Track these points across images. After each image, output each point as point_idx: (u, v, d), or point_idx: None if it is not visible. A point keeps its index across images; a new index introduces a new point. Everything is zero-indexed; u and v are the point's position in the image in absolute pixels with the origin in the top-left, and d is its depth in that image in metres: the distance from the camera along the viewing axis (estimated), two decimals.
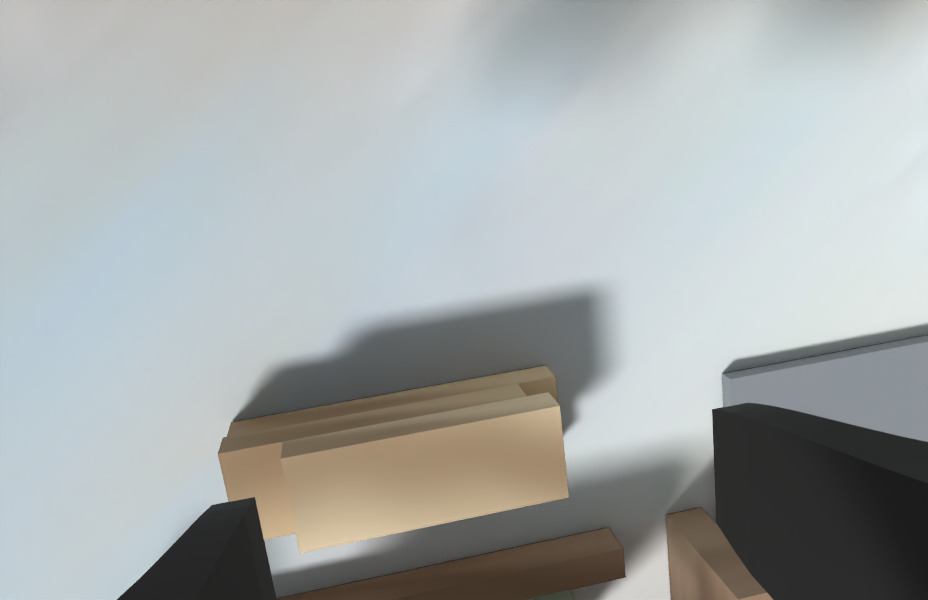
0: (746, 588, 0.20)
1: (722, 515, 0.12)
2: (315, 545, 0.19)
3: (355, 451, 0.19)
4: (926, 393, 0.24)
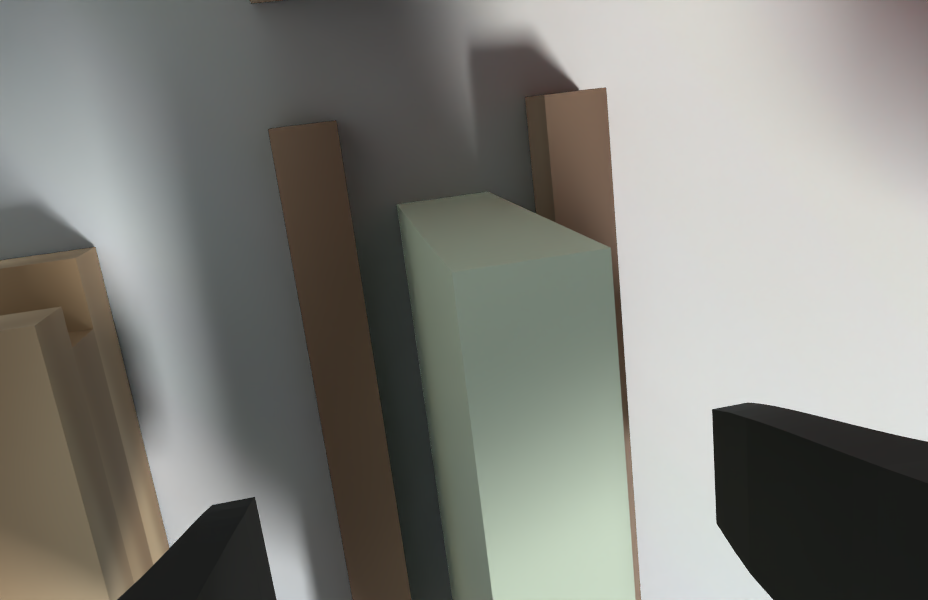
0: None
1: (723, 515, 0.12)
2: None
3: None
4: None
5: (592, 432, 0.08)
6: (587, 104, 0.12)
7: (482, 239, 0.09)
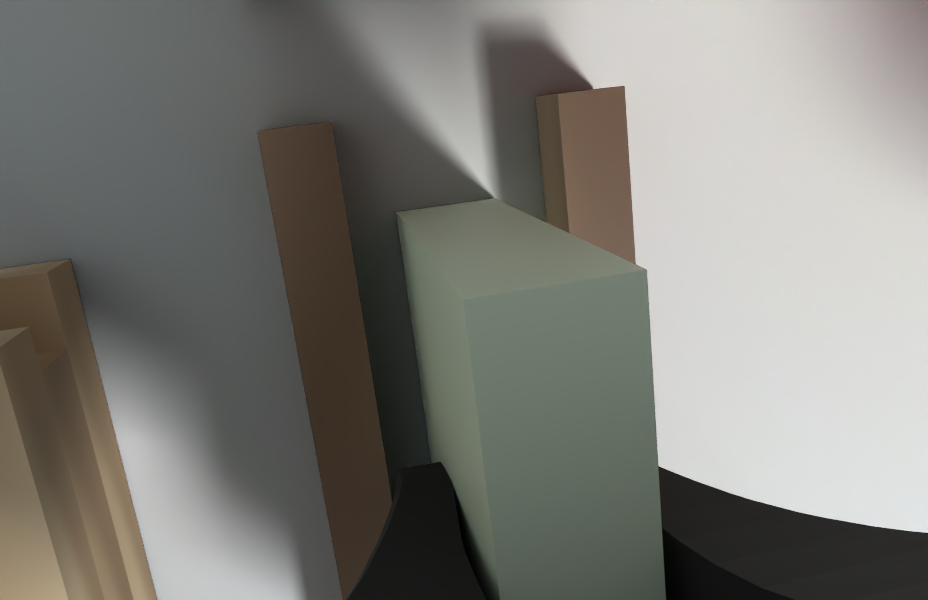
0: None
1: None
2: None
3: None
4: None
5: (623, 479, 0.07)
6: (604, 104, 0.11)
7: (495, 256, 0.08)
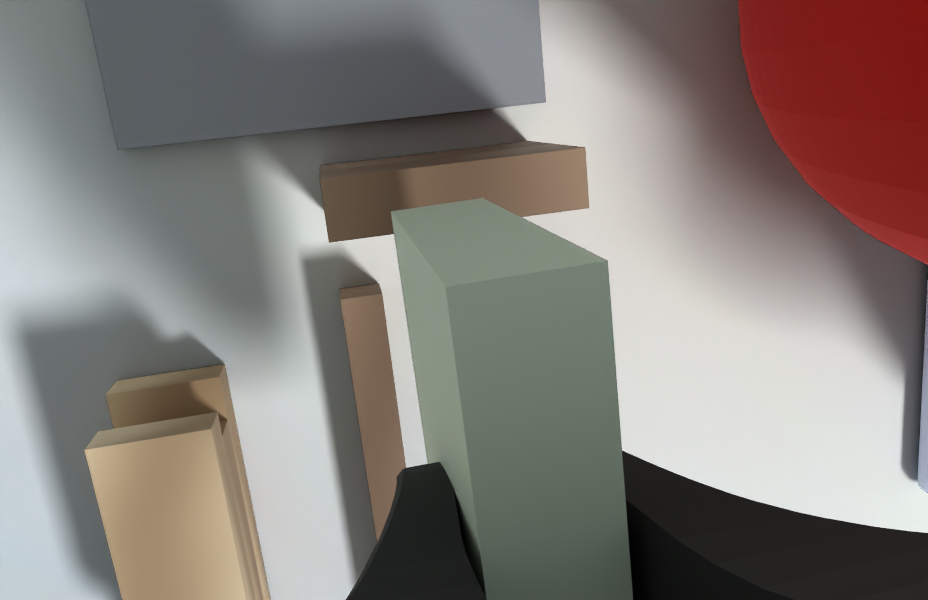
0: None
1: None
2: None
3: None
4: None
5: (589, 448, 0.08)
6: None
7: (477, 250, 0.09)
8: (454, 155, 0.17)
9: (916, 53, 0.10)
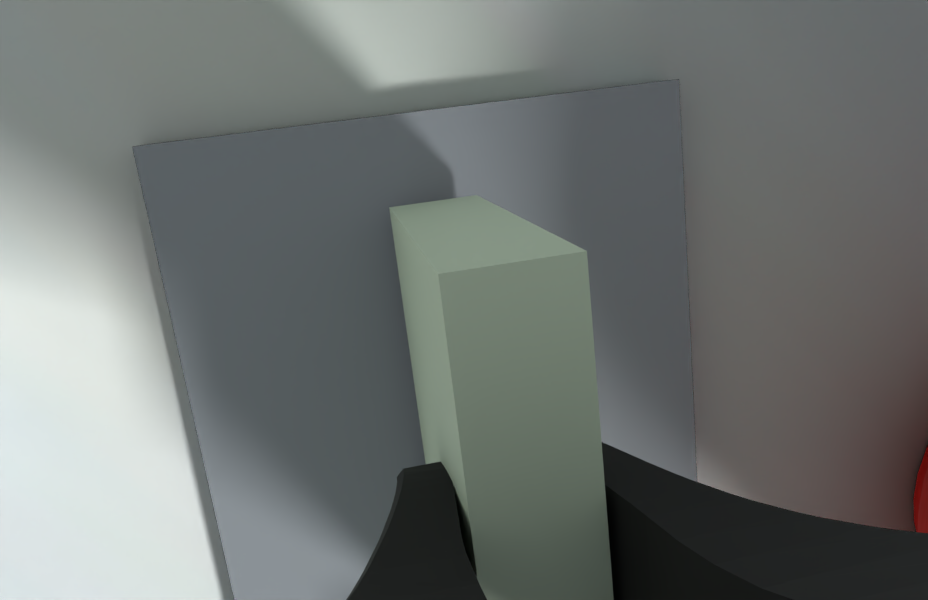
0: None
1: None
2: None
3: None
4: (290, 413, 0.15)
5: (570, 424, 0.08)
6: None
7: (468, 242, 0.09)
8: None
9: None
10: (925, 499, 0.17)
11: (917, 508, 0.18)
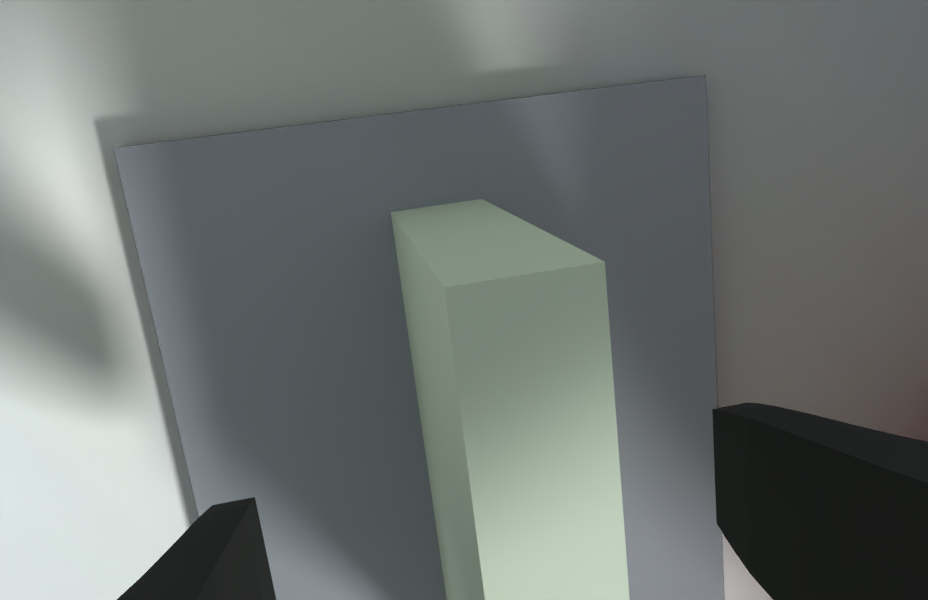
0: None
1: (722, 515, 0.12)
2: None
3: None
4: (285, 436, 0.14)
5: (586, 447, 0.08)
6: None
7: (476, 251, 0.09)
8: None
9: None
10: None
11: None
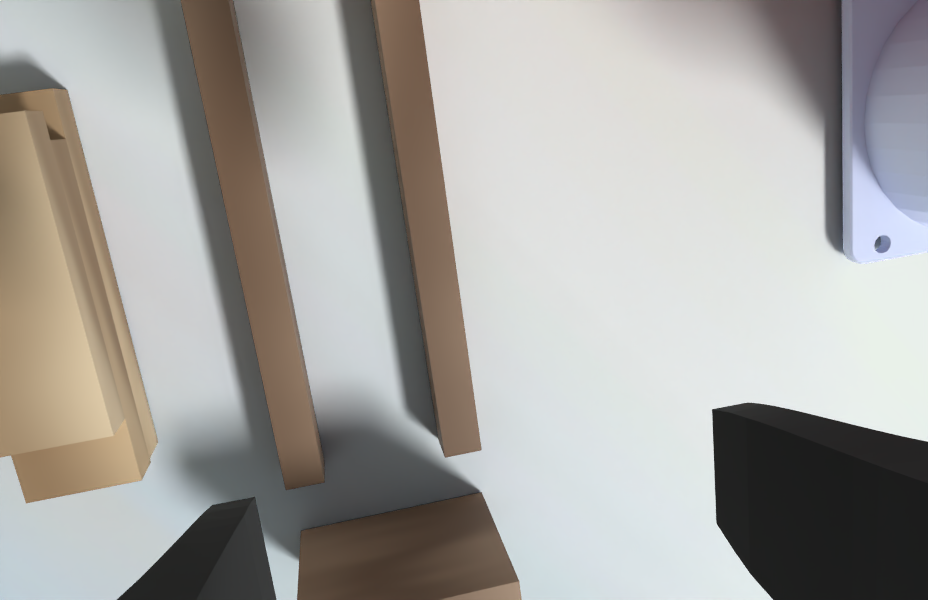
0: None
1: (722, 515, 0.12)
2: (102, 419, 0.17)
3: None
4: None
5: None
6: None
7: None
8: None
9: None
10: None
11: None
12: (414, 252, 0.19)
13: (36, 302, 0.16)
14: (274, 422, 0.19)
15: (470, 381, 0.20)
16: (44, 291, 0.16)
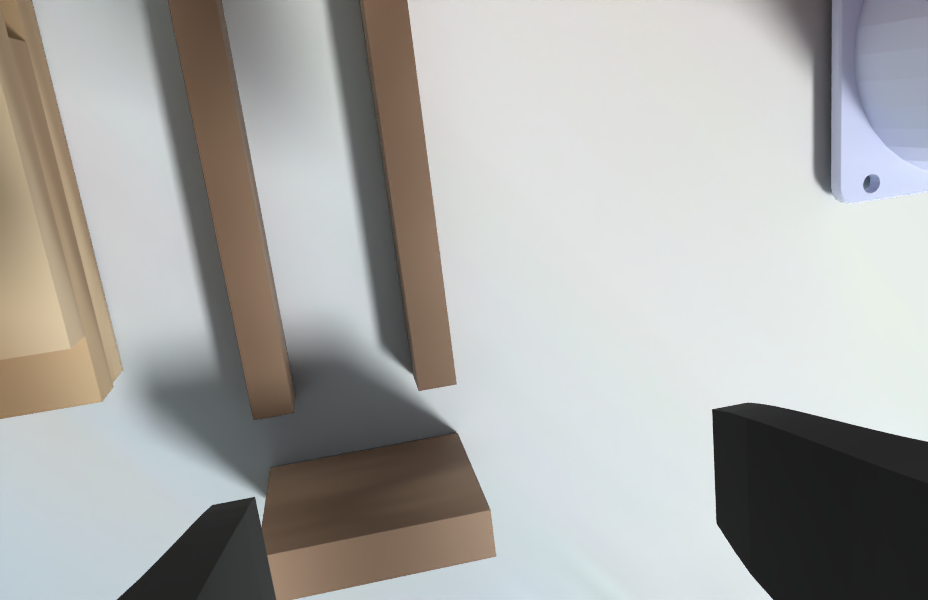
0: None
1: (722, 514, 0.12)
2: (59, 331, 0.16)
3: None
4: None
5: None
6: None
7: None
8: None
9: None
10: None
11: None
12: (388, 173, 0.18)
13: None
14: (242, 348, 0.19)
15: (445, 311, 0.19)
16: None
